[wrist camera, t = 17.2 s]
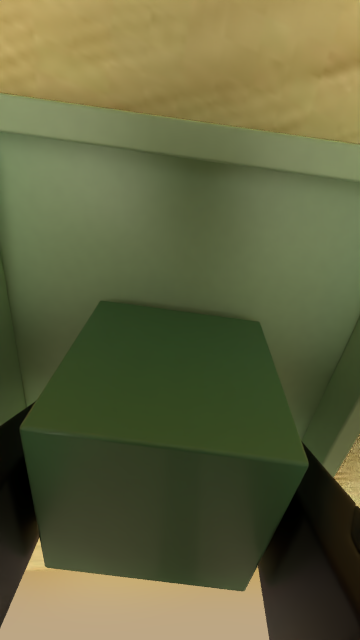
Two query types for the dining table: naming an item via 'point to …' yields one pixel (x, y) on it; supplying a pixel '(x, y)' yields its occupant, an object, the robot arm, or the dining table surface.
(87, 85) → the dining table surface
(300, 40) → the dining table surface
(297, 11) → the dining table surface
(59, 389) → the green block
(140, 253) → the green tray
